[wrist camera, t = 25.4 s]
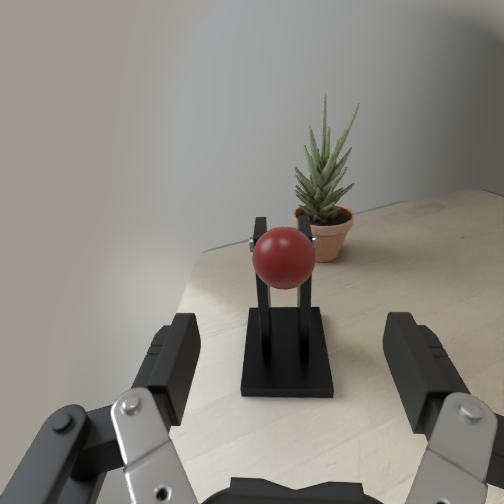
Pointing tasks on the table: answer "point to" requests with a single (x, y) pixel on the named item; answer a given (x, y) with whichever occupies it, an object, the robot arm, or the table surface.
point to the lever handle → (284, 258)
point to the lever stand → (285, 340)
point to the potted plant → (325, 193)
